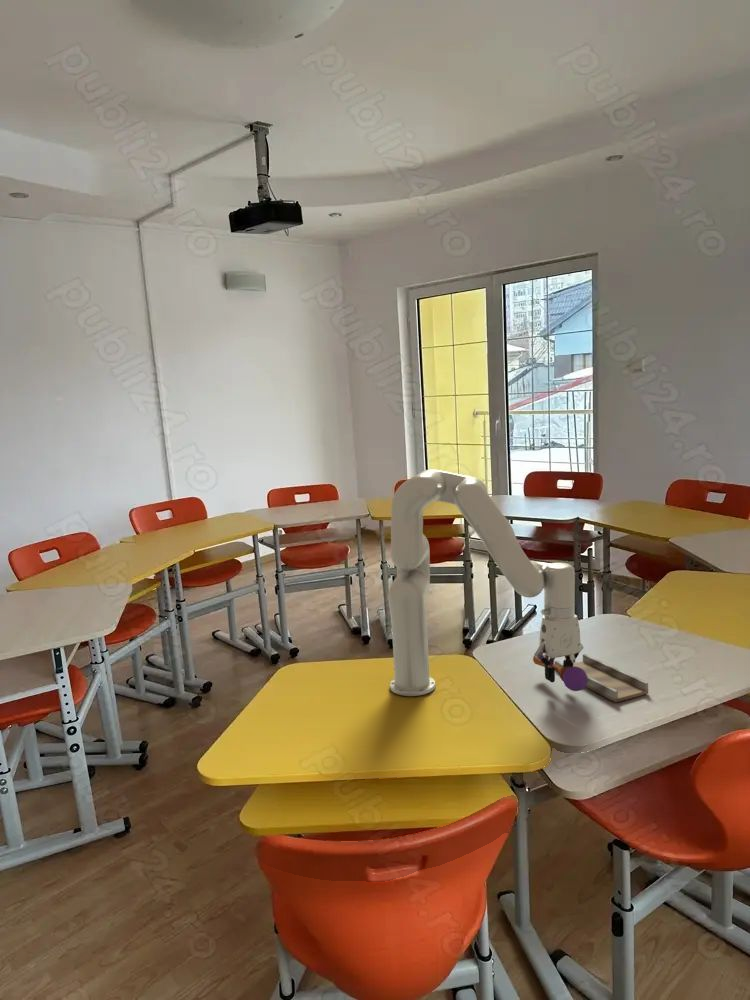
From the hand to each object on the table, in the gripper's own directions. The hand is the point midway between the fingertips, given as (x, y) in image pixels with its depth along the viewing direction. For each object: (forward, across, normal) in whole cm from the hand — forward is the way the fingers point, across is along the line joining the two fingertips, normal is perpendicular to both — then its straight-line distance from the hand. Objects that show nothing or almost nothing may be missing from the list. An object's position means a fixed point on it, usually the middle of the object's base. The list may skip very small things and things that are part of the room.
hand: (559, 677), depth 174 cm
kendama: (+1, 0, 0) cm, 1 cm away
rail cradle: (+3, +13, 0) cm, 13 cm away
